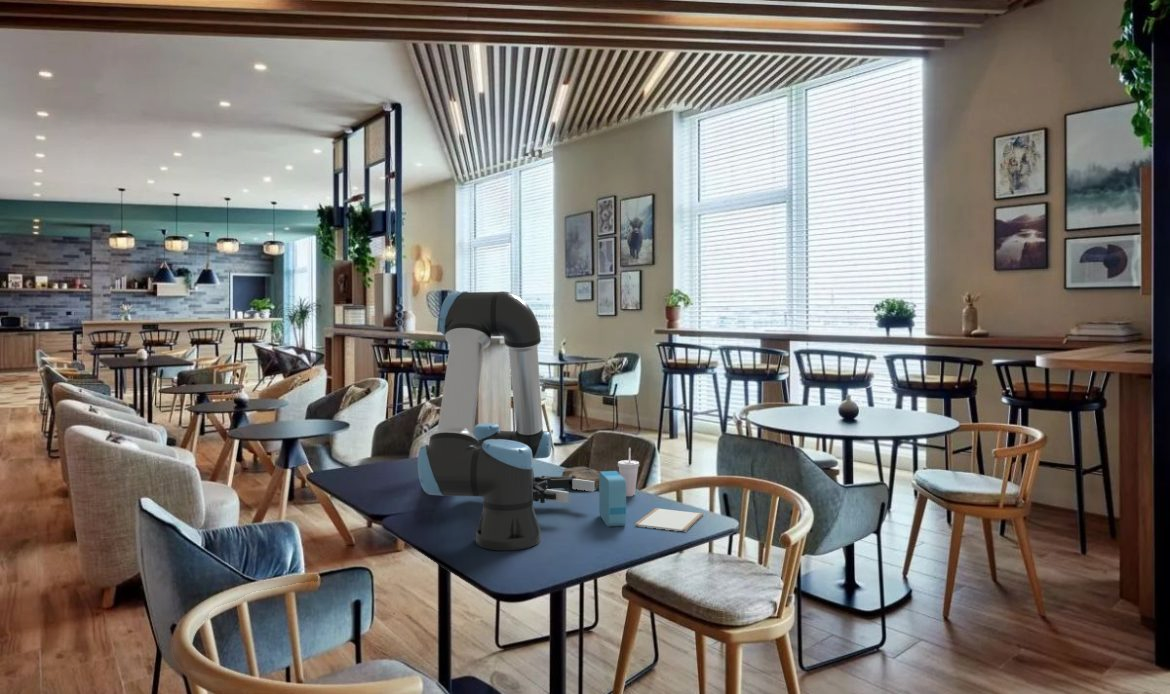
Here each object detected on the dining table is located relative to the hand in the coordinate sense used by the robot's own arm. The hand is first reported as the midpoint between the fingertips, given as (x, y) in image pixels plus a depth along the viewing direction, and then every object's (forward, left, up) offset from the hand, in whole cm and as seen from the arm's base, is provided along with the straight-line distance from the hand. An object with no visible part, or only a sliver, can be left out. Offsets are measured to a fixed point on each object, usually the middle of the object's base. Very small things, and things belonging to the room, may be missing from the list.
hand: (581, 491), depth 190 cm
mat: (+5, -23, -6) cm, 24 cm away
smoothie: (+26, -3, -7) cm, 27 cm away
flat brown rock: (+34, +15, -7) cm, 38 cm away
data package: (-1, -9, -7) cm, 11 cm away
